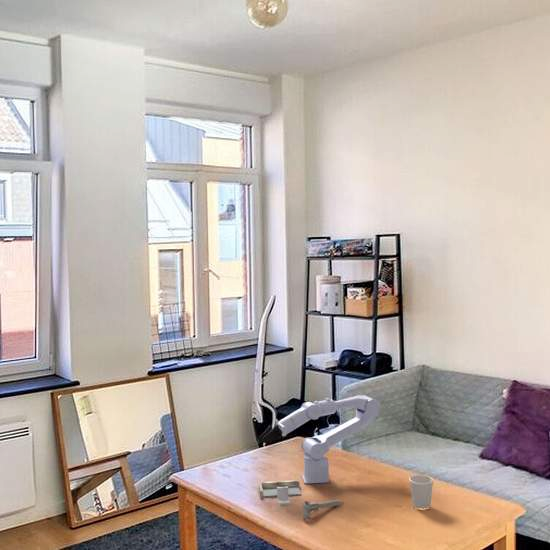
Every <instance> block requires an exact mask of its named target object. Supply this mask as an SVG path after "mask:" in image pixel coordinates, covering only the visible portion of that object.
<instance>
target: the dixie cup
mask: <svg viewBox="0 0 550 550" xmlns="http://www.w3.org/2000/svg"><path fill="white" fill-rule="evenodd" d="M408 480H409V483H410V484H409V485H410V492H411V499H412V507H413V506H414V507H416V508H423V509H424V508H428V507H430V508H431V505H432V504H431V502H432V495H433V494H432V492H433V483H434V481H435V479H434V478H433V477H431V476H429V475H425V474H415V475H411V476H410V477H409V478H408ZM414 507H413V508H414Z"/></svg>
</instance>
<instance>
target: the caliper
mask: <svg viewBox="0 0 550 550" xmlns="http://www.w3.org/2000/svg"><path fill="white" fill-rule="evenodd" d="M343 502H344V501H342V500H340V499H336V500H330V501H324V502H317V501H316V502H311V501H310V500H307V501H306V500H305V501H304V504H303V508H302V519H303V520H305V521H306V520H307V519H308V518H309V519H311V515H312V512H313V511H314V512H318V511H319V509H322V508H323V509H324V508H328V507H336V506H340V505H341V504H344V503H343Z"/></svg>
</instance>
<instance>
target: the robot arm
mask: <svg viewBox="0 0 550 550" xmlns="http://www.w3.org/2000/svg"><path fill="white" fill-rule="evenodd" d="M352 408H355V417H354V418H351V419H349V420H348V421H345V422H344V423H342V424H340V425H339V426H337V427H335V428H333V429H331V430H329V431H327V432H326V433H324V434H321V435H320V434H319V435H314V436H312V437H306V438H304V439H303V440H302V443H301V447H300V448H301V450H302V452H304V453H303V454H304V455H303V470H304V475H302V480H303V482H304V484H306V485H307V484H325V483H330V476H329V475H330V471H329V466H330V465H329V459H328V456H325V455H326V454H327V453H329V451H330V447H333V446H334V445H336V444H339V443H340V442H342V441H343V440H346V439H348V438H349V437H351V436H353V435H354V434H357V433H358V432H360V431H362V430H363V429H365V428H367V427H368V425H370V424H371V422H372V421H373V419H375V417H377V416H379V413H380V409H381V403H380V402H379V401H378V399H376V398H372V397H370V396H367V395H366V394H360V395H359V394H358V395H355V396H351V397H345V398H344V399H339V400H334V399H332V398H329V397H326V398H325V399H324V400H323V399H322V400H319V401H318V400H314V402H311V401H306V402H303V403H302V404H301V406H300V408H299V409H297V410H295V411H292V412H291V413H289V415H286V416H285V417H284V418H282V419H280V420H278V418H276V419H274V422H275V424H274V426H273V427H272V425H270V424H269V425H268V427H267V428H266V430H264V432H263V433H262V434H261V435H260V436H259V437H257V441H259V444H268V443H271V442H274V441H276V440H282V439H284V437H286V436H287V435H288V434H289V433H291V432H293V431H294V430H296V429H297V428H299V427H301V426H302V425H304V424H306V423H307V422H309V421H310V420H318V419H319V418H320V417H324V416H329V415H332V414H333V415H334V414H335V413H336V412H337V410H344V409H345V410H346V409H352Z"/></svg>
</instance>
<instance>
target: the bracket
mask: <svg viewBox="0 0 550 550" xmlns="http://www.w3.org/2000/svg"><path fill="white" fill-rule="evenodd" d="M276 500H277V503H278V506H279V505H280V506H291V502H290V496H288V486H287V487H277V497H276Z"/></svg>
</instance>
